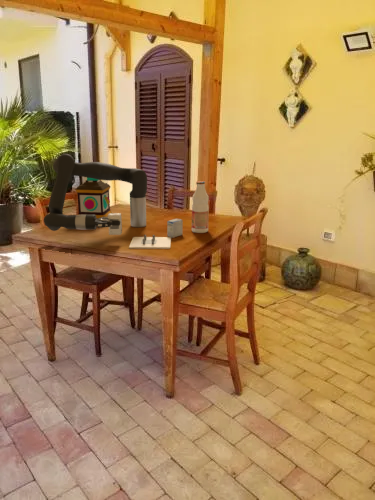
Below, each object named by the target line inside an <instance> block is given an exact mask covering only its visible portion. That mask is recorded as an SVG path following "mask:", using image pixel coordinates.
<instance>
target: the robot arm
mask: <svg viewBox="0 0 375 500" xmlns="http://www.w3.org/2000/svg"><path fill="white" fill-rule="evenodd" d="M52 168H53V171H54V172H55V173H57V175H56V179H55V183H54V184H53V185H54V186H53V187H52V191H51V193H50V198H49V202H48V209H49V213H47V214H46V215H45V216H44V217H43V223H44V225H45V226H46V227H47V228H48V229H49V230H51V231H53V232H57V231H58V230H60V229H61V228H63V229H67V230H84V231H85V230H86V231H87V230H88V231H89V230H92V231H93V230H96V229H97V228H98V229H100V228H101V229H103V228H108V227H110V226H119V225H120V221H108V217H104V216H103V217H100V218H98V219H97V218H96V215H78V214H68V215H67V214H63V212H64V205H65V201H66V196H67V192H68V191H67V190H68V186H69V182H70V179H71V176H73V177H74V176H75V177H76V176H77V177H83V178H86V179H87V178H94V179H99V180H100V181H108V182H109V181H110V182H112V181H121V182H124V183H125V182H126V183H128V184H131V185H132V186H131V188H132V189H131V191H129V211H130V212H129V213H130V227H133V228H143V227H146V226H147V201H146V200H147V199H146V198H147V196H146V195H147V192H148V177H147V173H146V171H145V170H143V169H140V168H134V167H132V168H131V167H130V168H129V167H121V166H120V167H119V166H116V165H114V164H111V163H110V164H109V163H106V162H100V161H89V162H76V160H75V158H74V157H73V156H72V155H70V154H68V153H62V154H61V155H59V156H58V157H57V158H56V159H55V160H54V162H53V164H52Z"/></svg>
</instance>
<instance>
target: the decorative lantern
mask: <svg viewBox="0 0 375 500" xmlns="http://www.w3.org/2000/svg"><path fill="white" fill-rule="evenodd" d="M110 188H111V185H110V184H108V182H104V181H103V180H99V179H94V178H87V177H86V180H85V181H84V182H83V183H82V184H80V185H78V186H77V187H76V188H75V189H74V190H75V192H76V196H77V207H78V209H77V210H78V213H77V215H96V218H97V219H98V218H100V217H103V216H104V217H108V214H109V213H113V212H112V210H111V207H110V205H111V200H110Z"/></svg>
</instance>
